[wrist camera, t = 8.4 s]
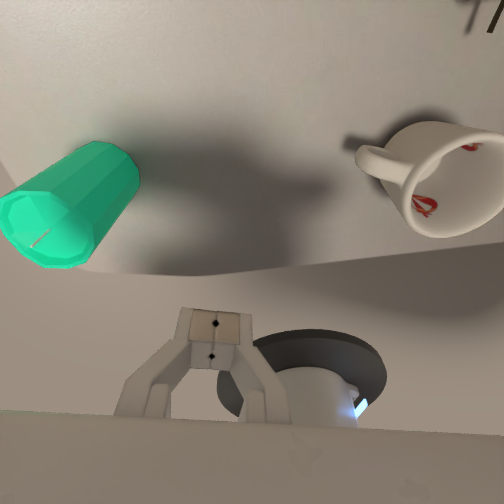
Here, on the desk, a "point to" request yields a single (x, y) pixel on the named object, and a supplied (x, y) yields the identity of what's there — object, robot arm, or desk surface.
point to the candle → (69, 205)
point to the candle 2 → (496, 17)
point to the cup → (440, 176)
